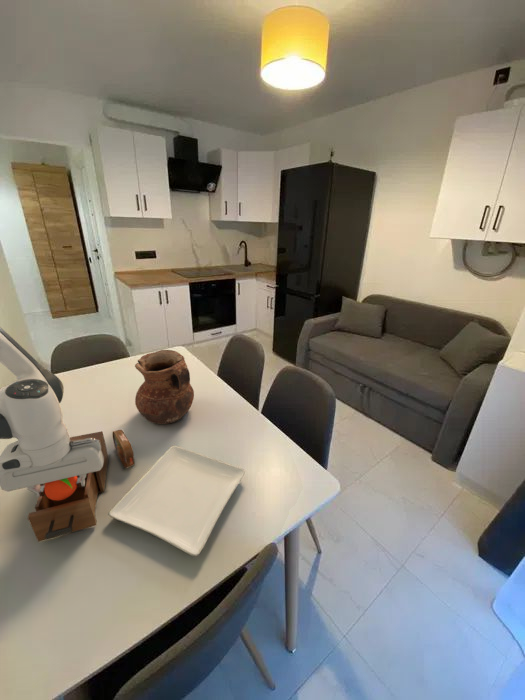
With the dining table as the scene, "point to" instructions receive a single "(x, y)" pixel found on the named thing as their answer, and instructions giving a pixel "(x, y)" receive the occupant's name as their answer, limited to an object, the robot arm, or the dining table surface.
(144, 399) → the jug
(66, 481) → the clementine
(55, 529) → the drawer
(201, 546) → the square plate
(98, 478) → the cabinet
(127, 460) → the tin
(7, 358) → the robot arm
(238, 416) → the dining table surface
